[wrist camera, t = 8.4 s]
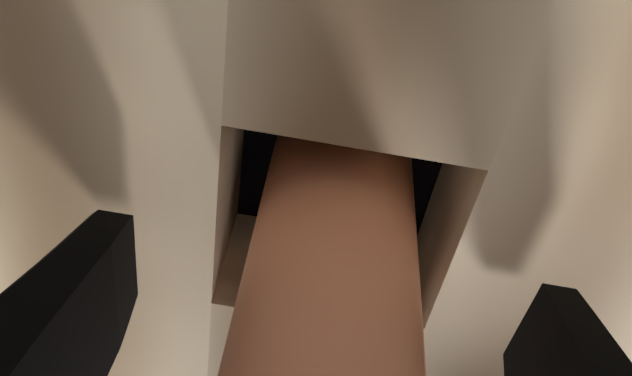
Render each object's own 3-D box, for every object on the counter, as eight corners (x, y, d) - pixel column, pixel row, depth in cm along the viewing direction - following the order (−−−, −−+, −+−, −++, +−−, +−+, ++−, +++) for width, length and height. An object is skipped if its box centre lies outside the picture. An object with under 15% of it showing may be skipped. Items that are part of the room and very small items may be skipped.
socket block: (855, -46, 10) (991, 23, 8) (573, 363, 18) (602, 462, 16) (-69, -212, 10) (-205, -190, 8) (35, 276, 18) (-19, 362, 15)
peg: (431, 118, 13) (474, 482, 7) (388, 223, 15) (392, 580, 9) (288, 83, 13) (202, 427, 7) (263, 194, 15) (178, 540, 9)
